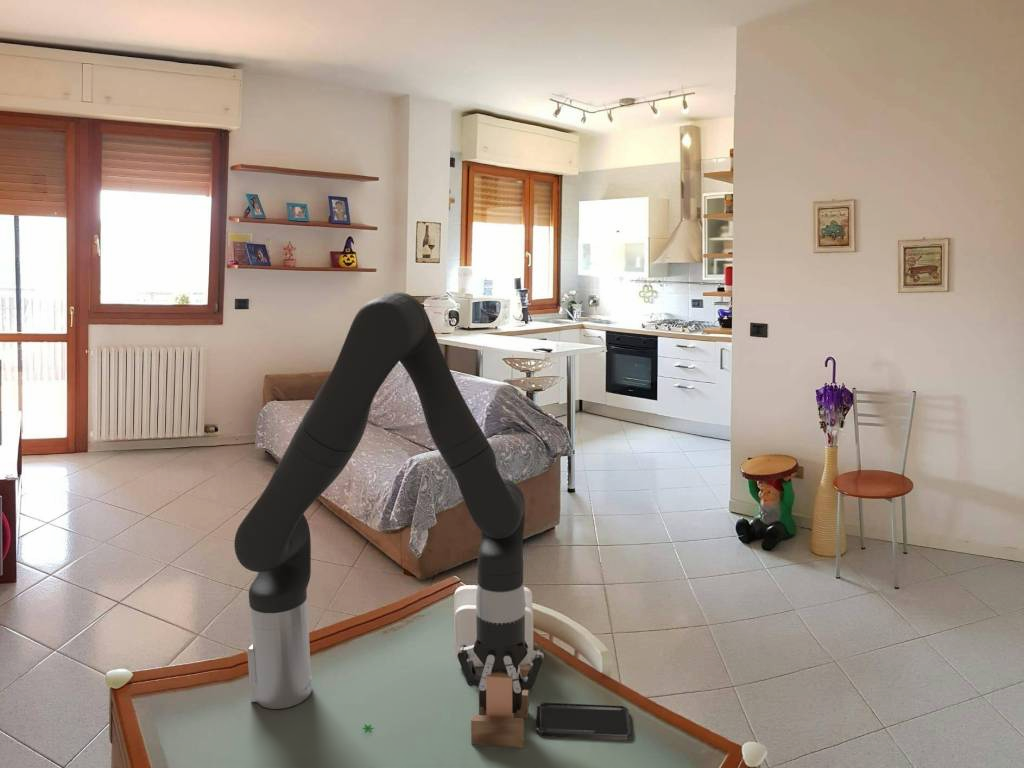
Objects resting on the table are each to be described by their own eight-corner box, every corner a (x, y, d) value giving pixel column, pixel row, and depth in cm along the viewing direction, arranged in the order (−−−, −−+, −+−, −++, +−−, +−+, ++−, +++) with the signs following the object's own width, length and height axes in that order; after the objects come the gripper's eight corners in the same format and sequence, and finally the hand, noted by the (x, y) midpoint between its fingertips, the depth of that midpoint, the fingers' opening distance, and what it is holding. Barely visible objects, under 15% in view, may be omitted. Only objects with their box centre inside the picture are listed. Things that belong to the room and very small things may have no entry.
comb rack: (471, 743, 120) (471, 720, 119) (486, 683, 136) (486, 662, 135) (522, 747, 119) (522, 724, 118) (532, 686, 135) (532, 665, 134)
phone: (537, 702, 129) (628, 706, 128) (537, 708, 129) (627, 712, 128) (535, 732, 121) (631, 736, 120) (535, 738, 122) (631, 743, 121)
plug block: (486, 723, 122) (486, 676, 120) (490, 707, 125) (489, 662, 124) (511, 724, 121) (511, 678, 120) (514, 709, 125) (514, 664, 123)
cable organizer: (450, 668, 141) (449, 609, 138) (455, 638, 151) (455, 582, 149) (532, 669, 140) (533, 610, 138) (532, 639, 151) (533, 583, 148)
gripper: (450, 618, 117) (452, 720, 120) (544, 623, 115) (543, 727, 119) (459, 595, 124) (461, 692, 128) (548, 600, 123) (547, 698, 126)
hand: (501, 708), depth 123 cm, fingers closed on plug block, 4 cm apart
